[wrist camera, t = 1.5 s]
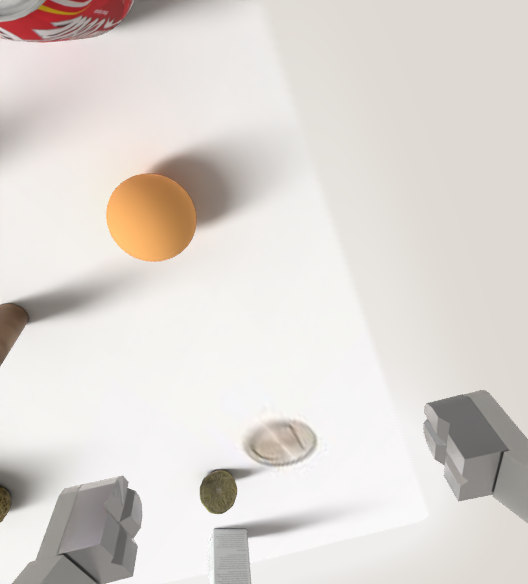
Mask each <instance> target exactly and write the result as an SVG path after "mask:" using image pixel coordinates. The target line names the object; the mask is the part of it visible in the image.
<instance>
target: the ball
mask: <svg viewBox="0 0 528 584" xmlns="http://www.w3.org/2000/svg"><path fill="white" fill-rule="evenodd" d="M106 219H107V225H108V228H109V231H110V234H111V236H112V237H113V239H114V241H115V242H116V243H117V244H118V246H119V247H120V248H121V249H122V250H124V251H125V252H126V253H128V254H129V255H131V256H133V257H135V258H138V259H140V260H144V261H154V262H156V261H163V260H167V259H170V258H172V257H175V256H176V255H178V254H179V253H181V252H182V251H183V250H184V249H185V248H186V247H187V246H188V244H189V243H190V241H191V240H192V238H193V236H194V233H195V229H196V211H195V207H194V204H193V202H192V200H191V198H190V196H189V195H188V193H187V192H186V191H185V190H184V189H183V188H182V187H181V186H180V185H179V184H178V183H177V182H175V181H173V180H172V179H170V178H168V177H165V176H162V175H158V174H140V175H136V176H133V177H131V178H129V179H127V180H125V181H124V182H122V183H121V184H120V185H119V186H118V187H117V188H116V189H115V190H114V192H113V193H112V195H111V197H110V199H109V202H108V205H107V213H106Z"/></svg>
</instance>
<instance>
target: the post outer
mask: <svg viewBox="0 0 528 584" xmlns="http://www.w3.org/2000/svg"><path fill="white" fill-rule="evenodd" d="M28 320H29V316H28V314H27V312H26V311H25V310H24V309H23V308H21V307H19V306H17V305H14V304H2V305H0V366H1V364H2V363H3V361H4V359H5V358H6V356H7V354H8V353H9V351H10V350H11V348H12V346H13V345H14V343H15V342H16V340H17V338H18V337H19V335H20V333H21V332H22V330H23V329H24V327H25V325H26V324H27V322H28Z"/></svg>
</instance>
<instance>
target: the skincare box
mask: <svg viewBox="0 0 528 584" xmlns="http://www.w3.org/2000/svg"><path fill="white" fill-rule="evenodd" d="M208 584H251V575H250V562H249V549H248V536H247V529H214V530H213V531H212V533H211V535H210V537H209V539H208Z"/></svg>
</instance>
